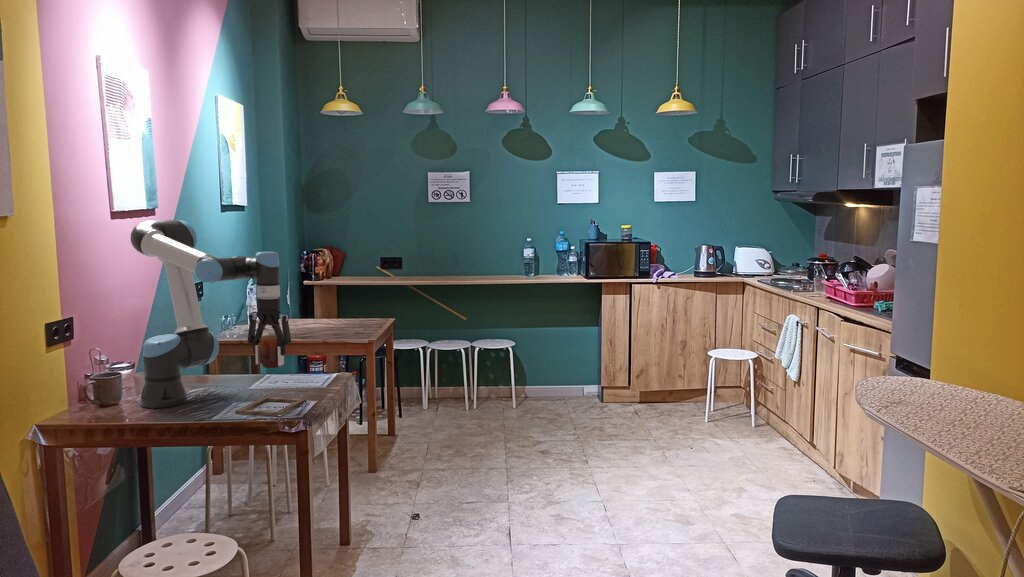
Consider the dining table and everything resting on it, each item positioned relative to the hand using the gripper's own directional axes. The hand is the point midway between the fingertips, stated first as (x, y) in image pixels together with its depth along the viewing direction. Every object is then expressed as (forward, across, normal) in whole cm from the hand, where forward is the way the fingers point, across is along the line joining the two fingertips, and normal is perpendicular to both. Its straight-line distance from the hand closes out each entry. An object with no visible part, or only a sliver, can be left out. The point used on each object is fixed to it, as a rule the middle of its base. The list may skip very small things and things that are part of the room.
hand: (269, 364), depth 257 cm
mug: (+1, 0, 0) cm, 1 cm away
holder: (+15, 0, 0) cm, 15 cm away
